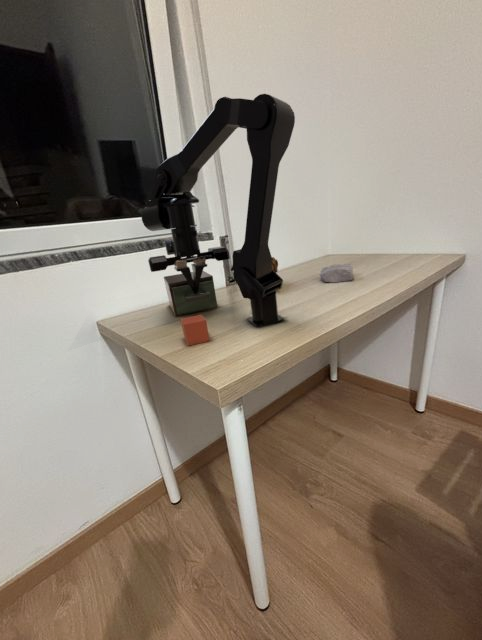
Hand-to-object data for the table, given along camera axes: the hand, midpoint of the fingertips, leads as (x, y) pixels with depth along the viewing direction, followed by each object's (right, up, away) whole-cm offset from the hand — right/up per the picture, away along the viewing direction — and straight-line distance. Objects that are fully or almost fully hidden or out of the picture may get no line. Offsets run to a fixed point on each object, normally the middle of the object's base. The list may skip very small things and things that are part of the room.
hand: (195, 294), depth 77 cm
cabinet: (-3, -1, +11) cm, 12 cm away
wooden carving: (+21, +6, +22) cm, 31 cm away
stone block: (+42, +9, +23) cm, 48 cm away
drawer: (-1, -2, +7) cm, 7 cm away
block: (+3, -12, -14) cm, 19 cm away
